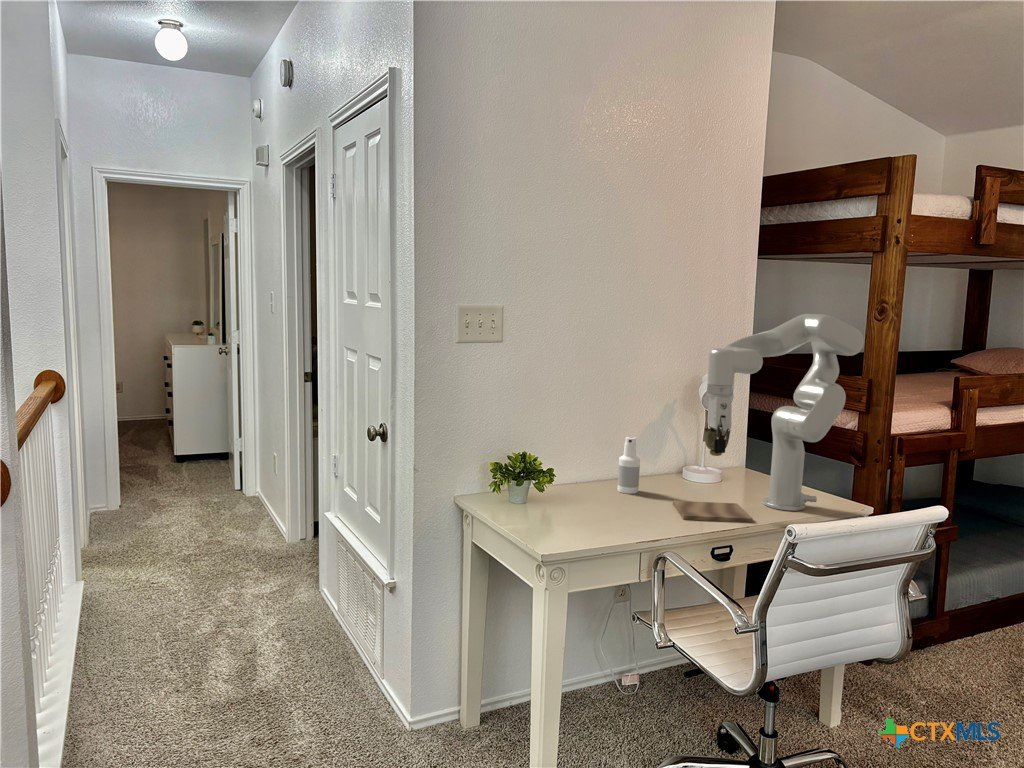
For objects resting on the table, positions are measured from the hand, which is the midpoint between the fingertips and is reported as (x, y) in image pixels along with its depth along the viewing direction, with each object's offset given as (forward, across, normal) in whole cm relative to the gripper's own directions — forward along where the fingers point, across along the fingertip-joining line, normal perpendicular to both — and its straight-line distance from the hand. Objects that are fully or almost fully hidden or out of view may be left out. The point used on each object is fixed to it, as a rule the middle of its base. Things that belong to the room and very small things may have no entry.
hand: (716, 449), depth 226 cm
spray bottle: (+20, +22, +22) cm, 37 cm away
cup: (+2, 0, 0) cm, 2 cm away
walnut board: (+19, 0, 0) cm, 19 cm away
